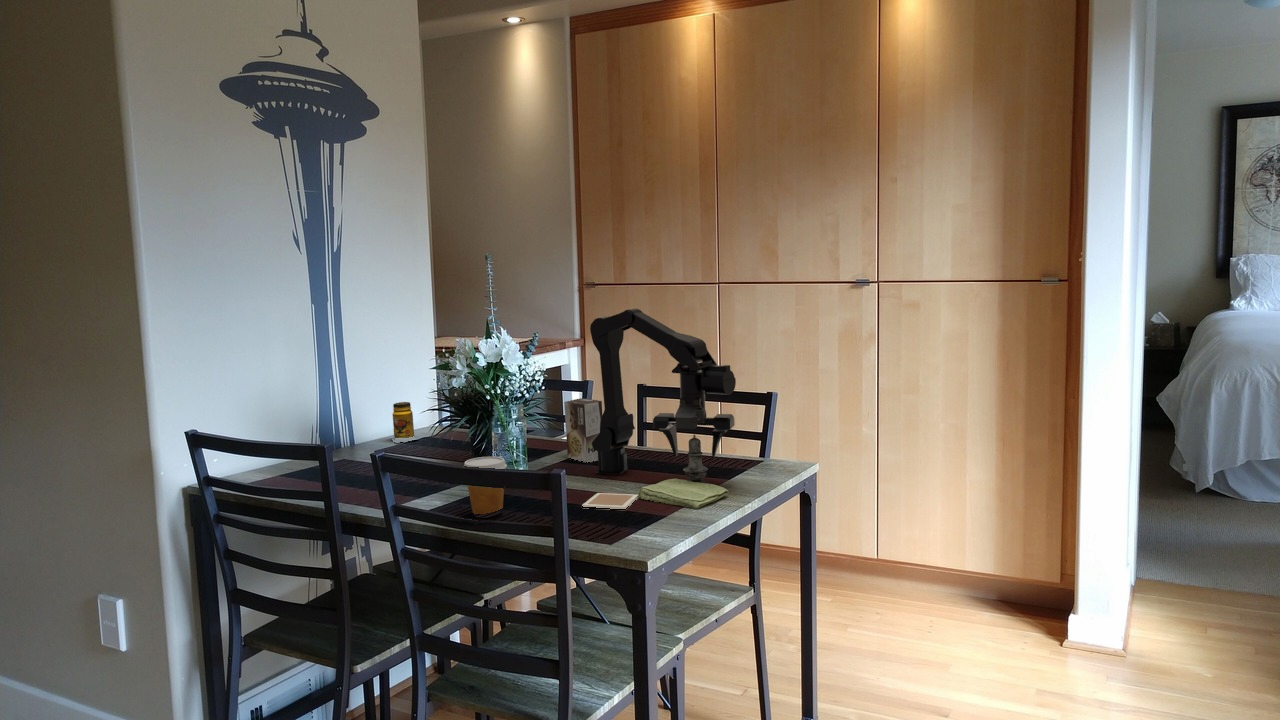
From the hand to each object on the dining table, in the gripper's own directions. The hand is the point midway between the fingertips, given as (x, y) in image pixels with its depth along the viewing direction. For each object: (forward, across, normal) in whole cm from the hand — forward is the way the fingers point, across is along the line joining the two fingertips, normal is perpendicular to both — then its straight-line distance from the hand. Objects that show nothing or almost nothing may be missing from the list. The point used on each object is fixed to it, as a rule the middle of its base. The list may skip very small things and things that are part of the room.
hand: (694, 456), depth 216 cm
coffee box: (+7, -36, +21) cm, 42 cm away
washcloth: (+7, 0, -12) cm, 14 cm away
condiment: (+7, -103, +38) cm, 110 cm away
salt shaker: (+7, 0, 0) cm, 7 cm away
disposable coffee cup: (+7, -39, -32) cm, 51 cm away
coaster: (+6, -15, -19) cm, 25 cm away
